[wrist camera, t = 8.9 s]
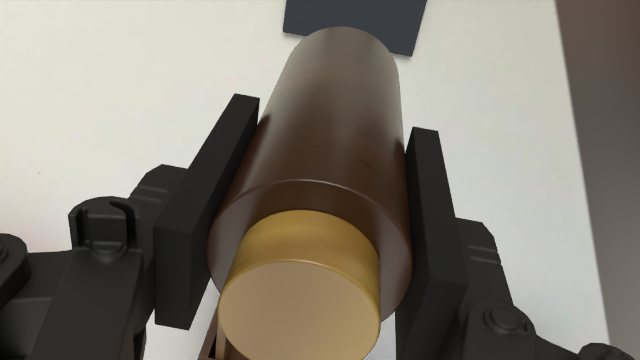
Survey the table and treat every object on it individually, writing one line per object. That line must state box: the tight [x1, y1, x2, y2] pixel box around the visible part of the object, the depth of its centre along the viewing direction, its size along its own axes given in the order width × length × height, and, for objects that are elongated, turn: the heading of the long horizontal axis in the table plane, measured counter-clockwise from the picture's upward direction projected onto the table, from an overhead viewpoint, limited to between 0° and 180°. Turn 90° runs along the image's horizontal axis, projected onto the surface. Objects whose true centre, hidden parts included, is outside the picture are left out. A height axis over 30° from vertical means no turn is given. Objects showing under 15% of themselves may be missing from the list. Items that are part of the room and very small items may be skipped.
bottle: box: [206, 26, 413, 360], centre depth 15 cm, size 5×5×13 cm
